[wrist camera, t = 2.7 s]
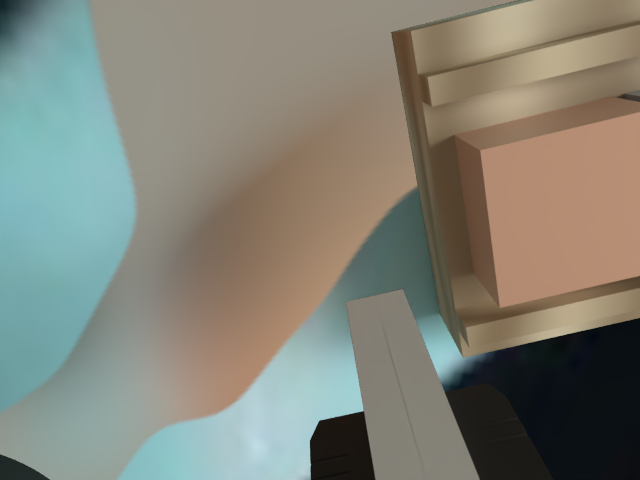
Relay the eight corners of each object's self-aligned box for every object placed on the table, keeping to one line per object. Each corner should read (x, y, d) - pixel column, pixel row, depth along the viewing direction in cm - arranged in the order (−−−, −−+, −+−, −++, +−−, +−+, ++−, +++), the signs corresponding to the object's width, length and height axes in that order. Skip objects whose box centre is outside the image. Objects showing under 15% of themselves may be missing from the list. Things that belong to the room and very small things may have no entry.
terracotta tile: (473, 273, 22) (499, 307, 19) (454, 134, 20) (480, 150, 17) (615, 240, 22) (662, 270, 19) (610, 96, 20) (663, 106, 17)
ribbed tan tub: (439, 314, 27) (473, 377, 22) (391, 32, 22) (420, 30, 17) (709, 252, 27) (808, 302, 22) (721, -51, 22) (852, -78, 17)
